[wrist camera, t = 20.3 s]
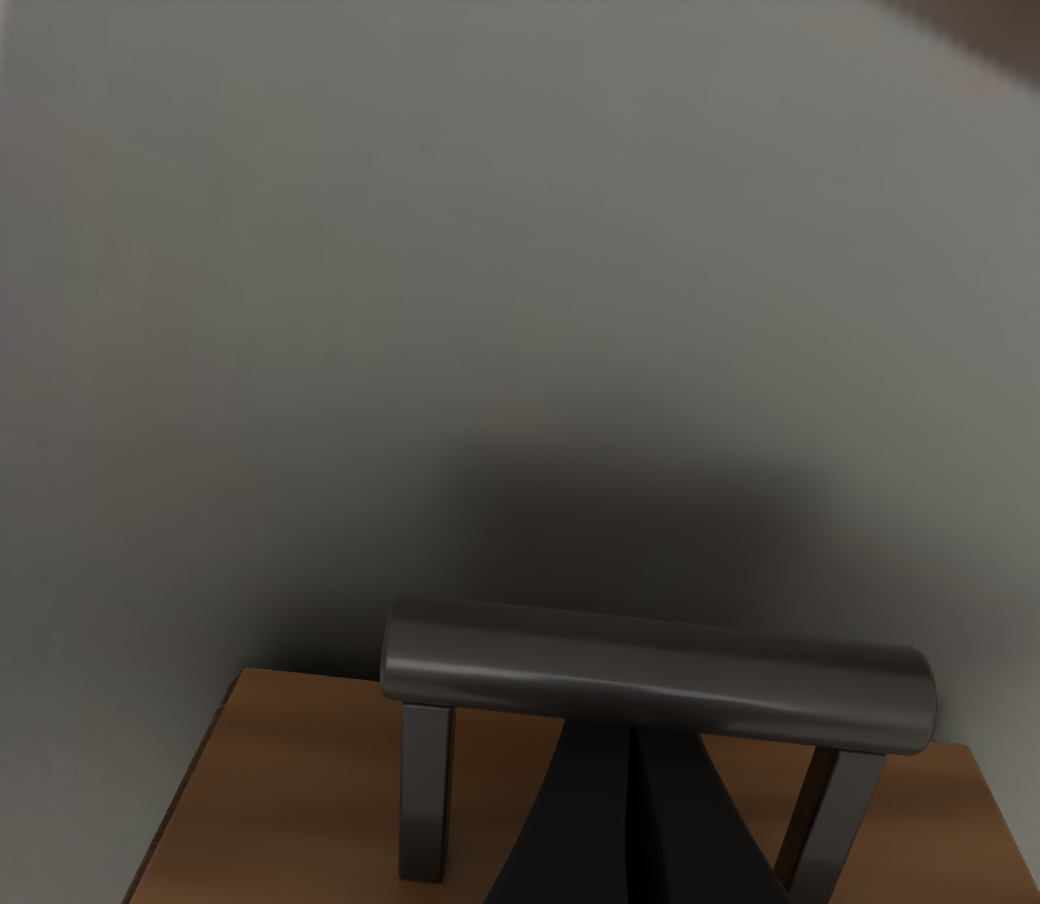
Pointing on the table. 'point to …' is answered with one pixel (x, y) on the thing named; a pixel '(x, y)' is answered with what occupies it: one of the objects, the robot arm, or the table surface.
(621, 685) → the drawer
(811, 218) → the table surface
